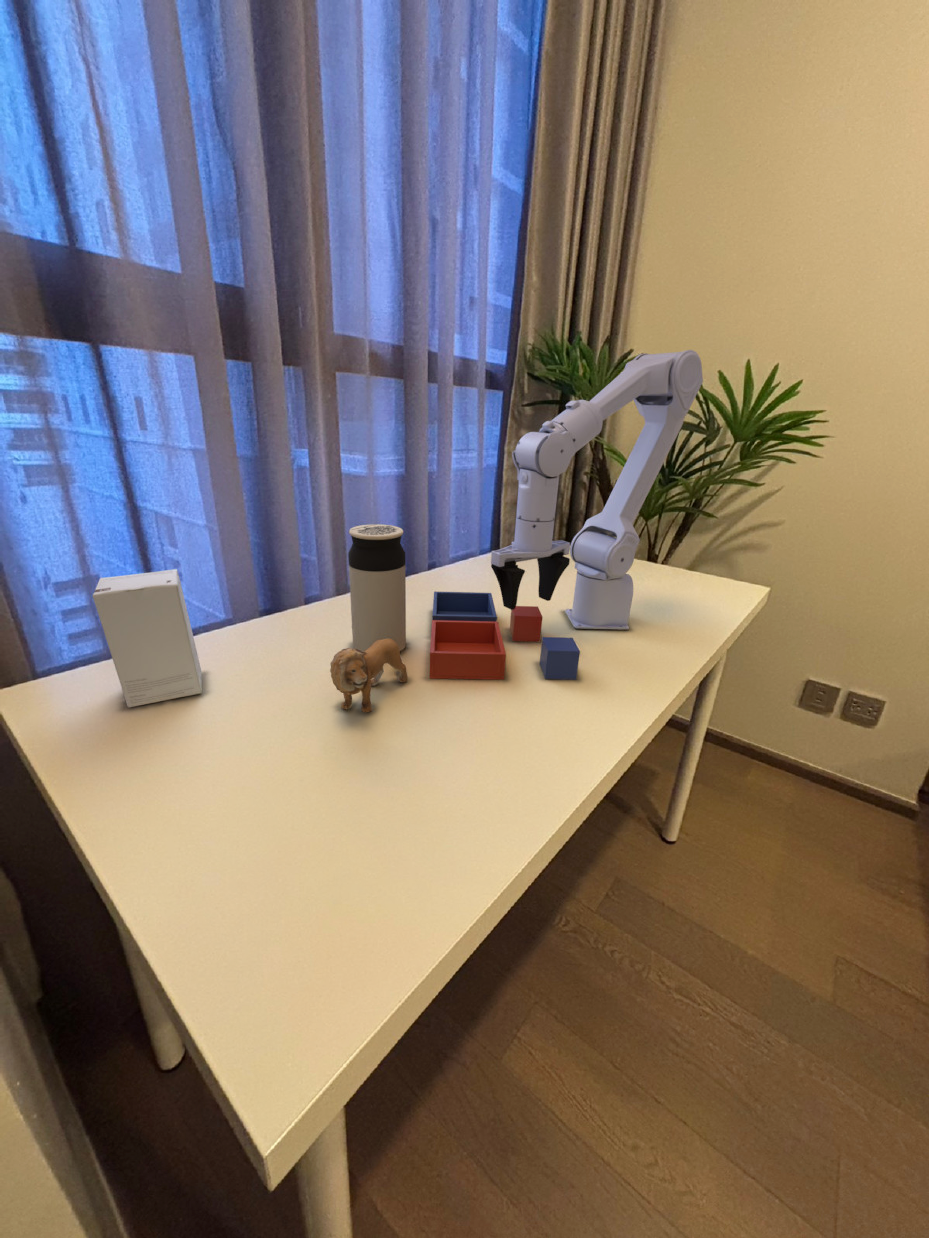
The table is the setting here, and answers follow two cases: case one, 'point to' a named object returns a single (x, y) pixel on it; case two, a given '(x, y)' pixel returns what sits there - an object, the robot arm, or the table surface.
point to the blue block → (559, 658)
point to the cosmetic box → (149, 636)
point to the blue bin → (463, 606)
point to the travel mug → (377, 585)
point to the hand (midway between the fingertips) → (527, 603)
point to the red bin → (466, 650)
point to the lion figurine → (364, 670)
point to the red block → (526, 623)
